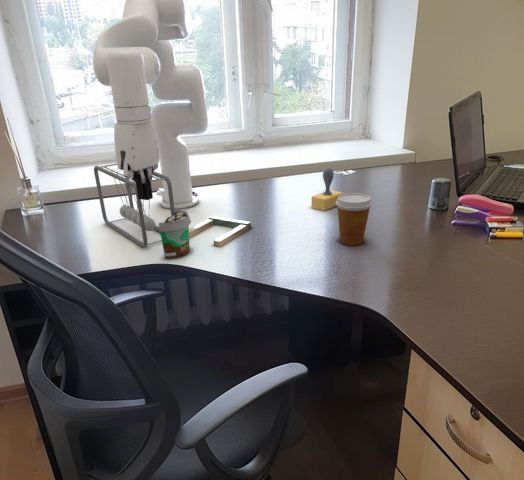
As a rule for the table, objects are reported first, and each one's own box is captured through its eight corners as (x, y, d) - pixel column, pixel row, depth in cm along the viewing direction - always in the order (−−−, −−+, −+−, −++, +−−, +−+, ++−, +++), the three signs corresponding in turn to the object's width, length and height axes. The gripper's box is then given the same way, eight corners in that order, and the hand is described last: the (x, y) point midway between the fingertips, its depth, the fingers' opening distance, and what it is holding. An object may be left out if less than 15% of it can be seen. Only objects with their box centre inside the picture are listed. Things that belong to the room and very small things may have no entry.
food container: (185, 262, 137) (181, 224, 131) (163, 260, 138) (157, 223, 132) (199, 244, 147) (196, 209, 141) (178, 243, 148) (174, 208, 143)
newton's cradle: (103, 223, 165) (92, 164, 156) (134, 216, 171) (125, 159, 161) (145, 250, 145) (135, 184, 135) (179, 241, 150) (171, 177, 140)
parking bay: (179, 239, 151) (178, 233, 150) (212, 221, 163) (211, 215, 163) (220, 246, 145) (219, 240, 144) (251, 227, 157) (250, 221, 157)
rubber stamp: (329, 200, 178) (330, 163, 172) (343, 203, 175) (345, 166, 168) (310, 207, 172) (311, 169, 166) (324, 211, 169) (326, 172, 162)
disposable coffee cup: (347, 250, 140) (349, 205, 134) (327, 239, 147) (329, 196, 141) (376, 243, 144) (379, 199, 137) (355, 232, 151) (358, 190, 145)
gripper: (142, 109, 122) (153, 189, 132) (95, 118, 111) (111, 205, 121) (168, 110, 119) (177, 192, 128) (122, 120, 108) (136, 209, 117)
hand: (145, 198), depth 125 cm, fingers closed
